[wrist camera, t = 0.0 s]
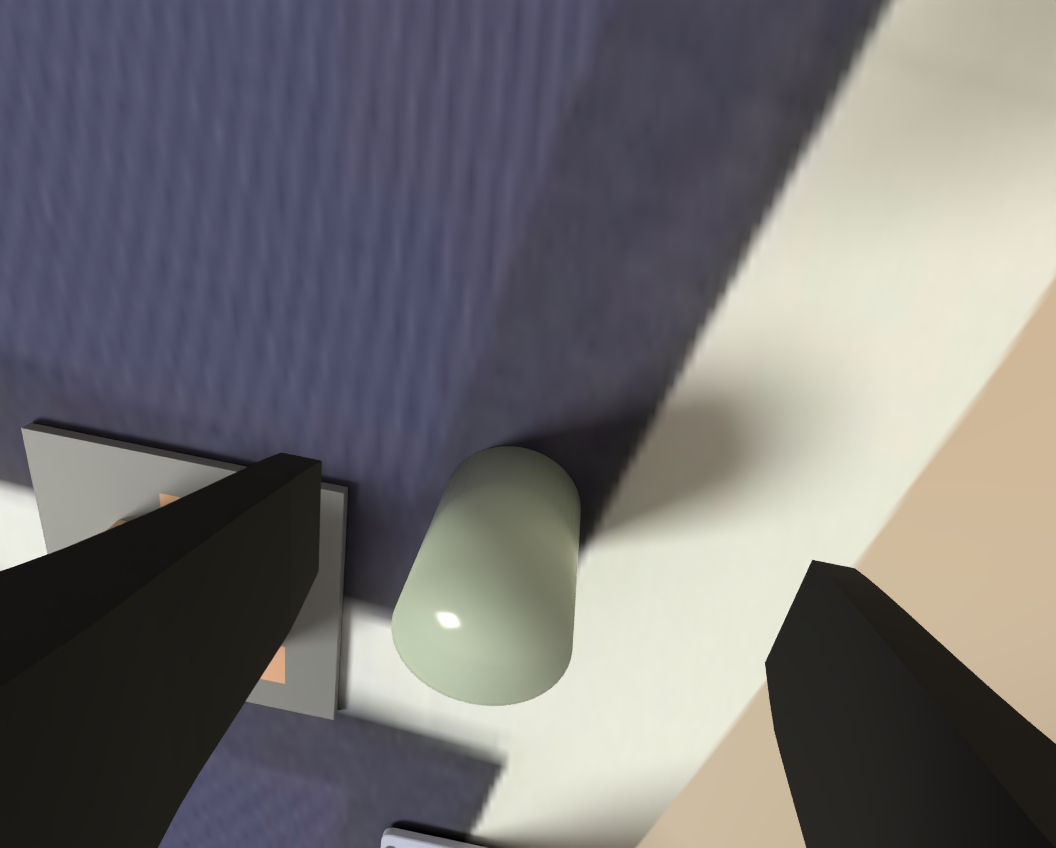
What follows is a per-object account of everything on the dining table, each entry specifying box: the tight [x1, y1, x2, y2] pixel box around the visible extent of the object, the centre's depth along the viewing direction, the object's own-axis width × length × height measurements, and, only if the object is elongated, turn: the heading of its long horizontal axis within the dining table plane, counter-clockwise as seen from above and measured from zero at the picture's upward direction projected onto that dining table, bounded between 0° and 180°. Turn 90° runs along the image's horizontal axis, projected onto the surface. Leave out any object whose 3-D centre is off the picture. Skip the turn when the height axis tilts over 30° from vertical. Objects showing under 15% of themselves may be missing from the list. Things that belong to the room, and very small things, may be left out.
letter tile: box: [21, 423, 348, 720], centre depth 24 cm, size 11×11×1 cm
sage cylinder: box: [392, 446, 581, 706], centre depth 19 cm, size 4×4×6 cm
